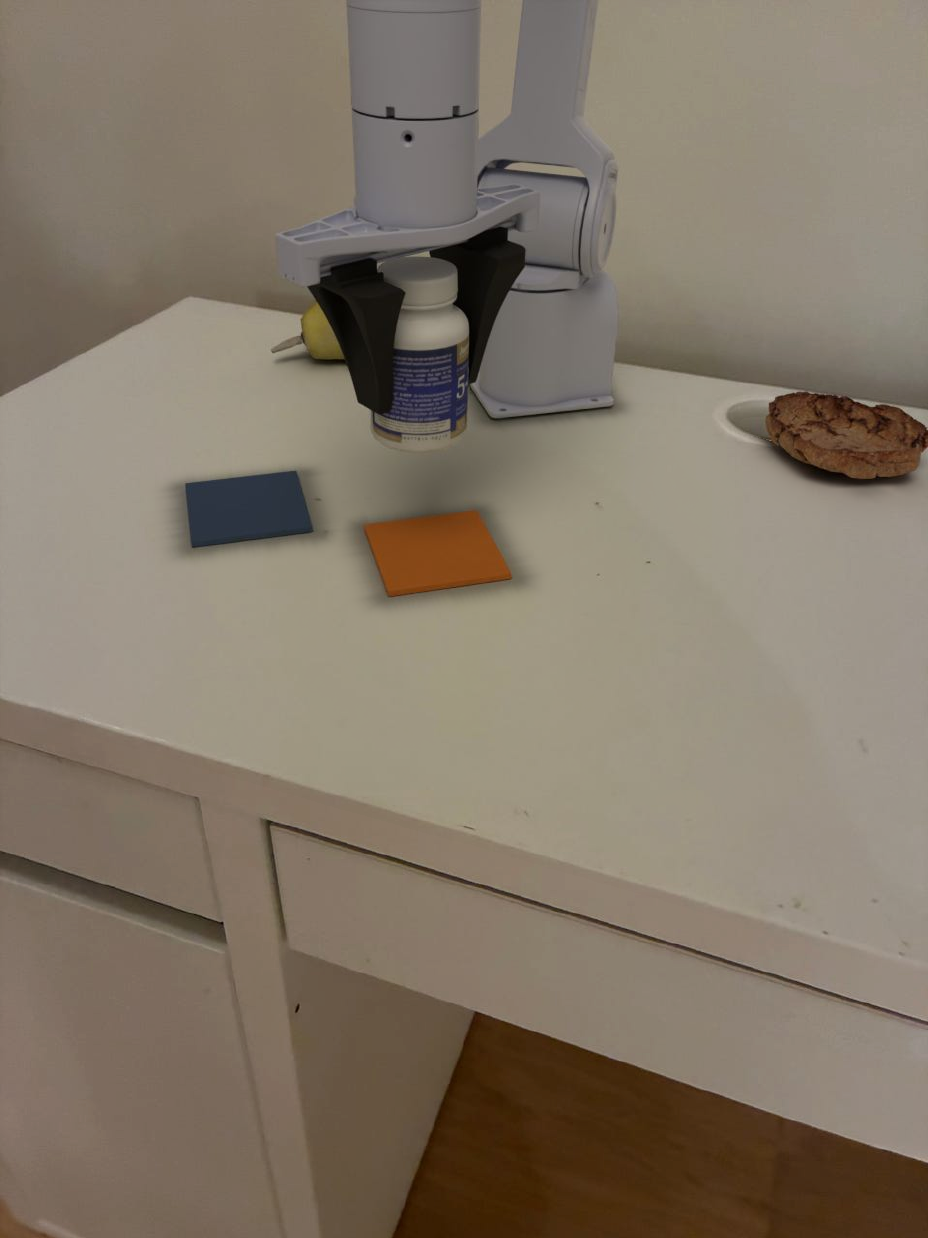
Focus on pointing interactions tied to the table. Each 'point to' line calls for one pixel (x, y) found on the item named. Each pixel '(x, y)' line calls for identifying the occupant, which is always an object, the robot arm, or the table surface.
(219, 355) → the table surface
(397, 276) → the pill bottle
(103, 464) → the table surface
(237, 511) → the blue mat
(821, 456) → the cookie
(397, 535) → the amber mat
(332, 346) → the fruit
